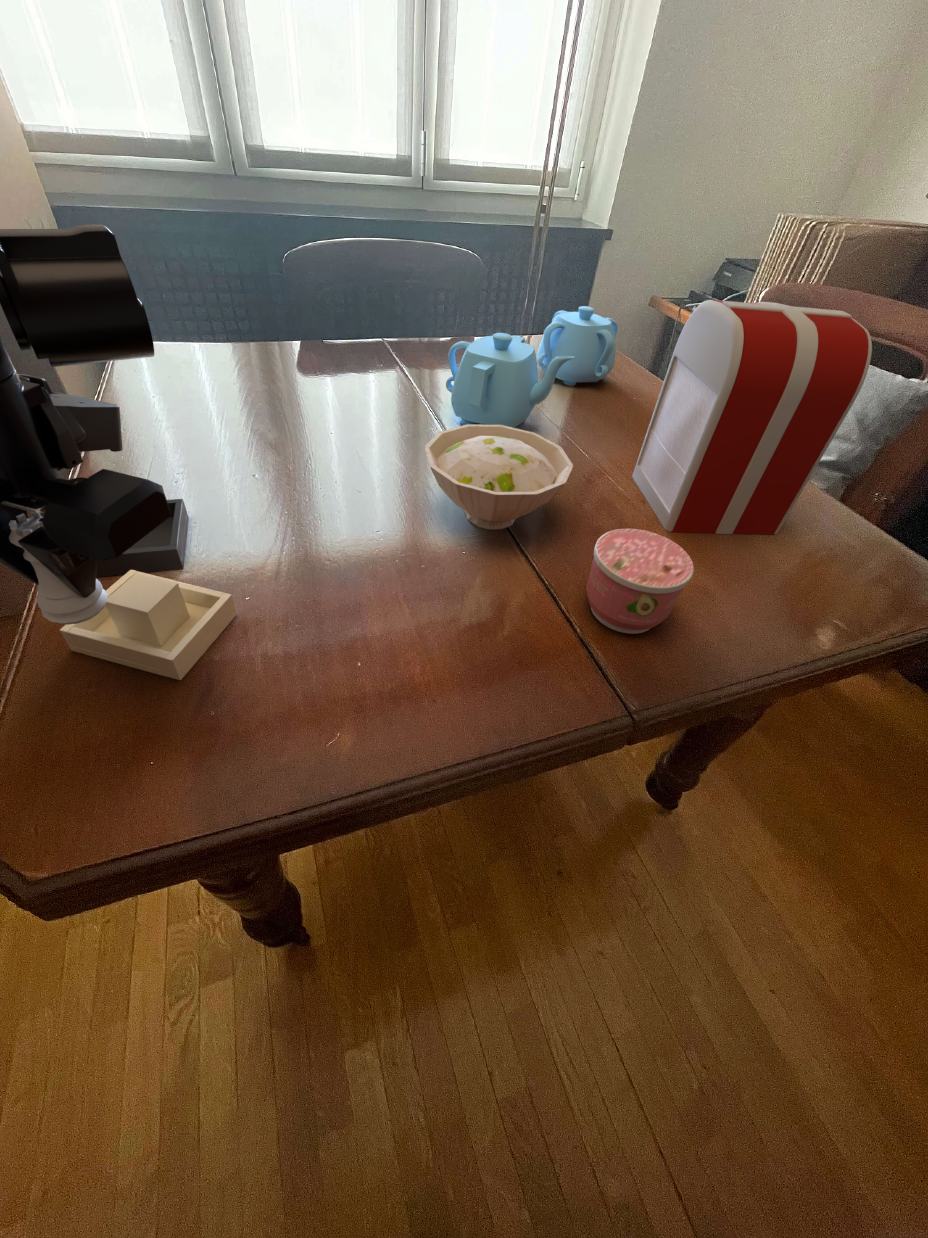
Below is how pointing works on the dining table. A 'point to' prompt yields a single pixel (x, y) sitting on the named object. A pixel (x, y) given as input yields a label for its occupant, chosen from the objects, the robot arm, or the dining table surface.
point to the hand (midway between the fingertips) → (67, 588)
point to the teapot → (498, 380)
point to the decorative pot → (579, 345)
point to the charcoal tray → (153, 547)
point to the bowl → (497, 471)
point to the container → (636, 579)
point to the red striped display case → (748, 413)
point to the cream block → (147, 609)
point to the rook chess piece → (56, 584)
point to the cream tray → (169, 660)
